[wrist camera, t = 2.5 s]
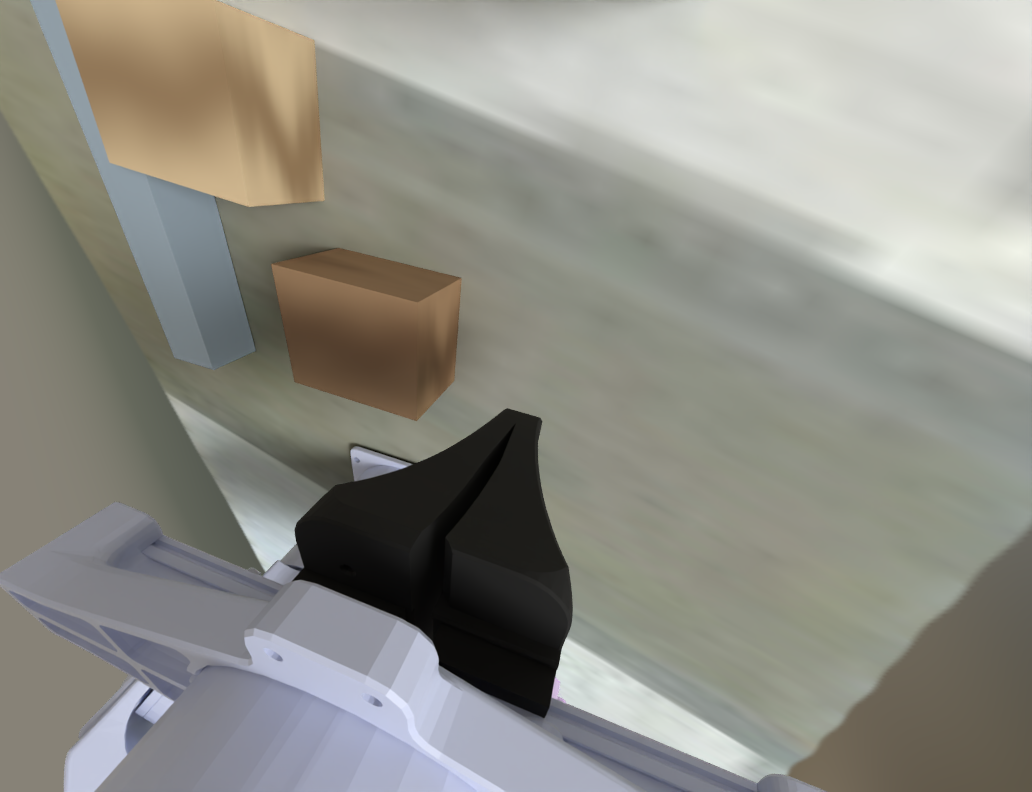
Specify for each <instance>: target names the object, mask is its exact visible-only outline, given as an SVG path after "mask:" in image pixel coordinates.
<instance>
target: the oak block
mask: <svg viewBox="0 0 1032 792" xmlns="http://www.w3.org/2000/svg"><path fill="white" fill-rule="evenodd" d="M55 1H56V4H57V7H58V10H59V13H60V16H61V19H62V22H63V25H64V28H65V31H66V34H67V37H68V40H69V43H70V46H71V49H72V52H73V55H74V58H75V61H76V64H77V67H78V70H79V73H80V76H81V79H82V82H83V85H84V88H85V91H86V94H87V97H88V100H89V103H90V106H91V109H92V112H93V115H94V118H95V121H96V124H97V127H98V130H99V133H100V136H101V139H102V142H103V145H104V148H105V151H106V154H107V157H108V160H109V163H112V164H115V165H118V166H121V167H125V168H128V169H131V170H134V171H137V172H140V173H144V174H147V175H150V176H153V177H156V178H159V179H162V180H166V181H169V182H172V183H175V184H178V185H181V186H185V187H188V188H191V189H194V190H197V191H200V192H203V193H207V194H210V195H213V196H216V197H219V198H222V199H226V200H229V201H232V202H235V203H238V204H241V205H244V206H248V207H253V206H265V205H278V204H290V203H302V202H315V201H324V185H323V170H322V154H321V138H320V123H319V107H318V91H317V75H316V60H315V44H314V40H312V39H310V38H307V37H305V36H302V35H300V34H297V33H295V32H293V31H290V30H288V29H285V28H283V27H280V26H278V25H275V24H273V23H270V22H268V21H266V20H263V19H261V18H258V17H256V16H253V15H251V14H248V13H246V12H243V11H241V10H239V9H236V8H234V7H231V6H229V5H226V4H224V3H221V2H219V1H216V0H55Z"/></svg>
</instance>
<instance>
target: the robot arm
mask: <svg viewBox="0 0 1032 792" xmlns="http://www.w3.org/2000/svg"><path fill="white" fill-rule="evenodd" d="M541 425H542V420H541V419H540V418H539V417H536V416H532V415H529V414H525V413H522V412H518V411H515V410H511V409H508V408H507V409H505V410H503V411H502V412H501V413H500V414H498V415H497V416H496V417H495V418H493V419H492V420H491V421H489V422H488V423H487V424H485V425H484V426H482V427H481V428H480V429H478V430H477V431H475V432H474V433H472V434H471V435H469V436H468V437H466V438H465V439H463V440H461V441H460V442H458V443H456V444H455V445H453V446H451V447H449V448H448V449H446V450H444V451H442V452H440V453H438V454H436V455H434V456H432V457H430V458H428V459H425V460H423V461H420V462H418V463H415V464H410V463H407V462H404V461H401V460H398V459H395V458H392V457H389V456H386V455H383V454H380V453H377V452H374V451H371V450H368V449H364V448H361V447H358V446H355V447H353V448H352V449H351V451H350V454H351V461H352V468H353V475H354V482H350V483H345V484H340V485H335V486H334V487H333V488H332V489H331V490H330V491H329V492H327V493H326V494H325V495H324V496H323V497H322V498H321V499H320V500H319V501H318V502H317V503H316V504H315V505H314V506H313V507H312V508H311V509H310V510H309V511H308V512H307V513H306V514H305V515H304V516H303V517H302V518H301V519H300V520H299V521H298V522H297V524H296V527H295V537H296V542H297V544H296V545H295V546H294V547H293V548H292V549H291V550H290V551H289V552H288V553H287V554H286V555H285V556H284V557H283V558H282V560H281V561H279V560H278V561H276V562H275V563H274V564H273V565H272V566H271V567H270V568H269V569H268V570H267V572H266V573H265V574H264V575H263V576H260V574H261V573H260V572H259V571H257V570H256V569H255V568H250V569H248V570H246V569H243V568H241V567H239V566H236V565H234V564H231V563H229V562H227V561H224V560H222V559H219V558H217V557H215V556H212V555H210V554H208V553H205V552H203V551H200V550H198V549H196V548H193V547H191V546H188V545H186V544H183V543H181V542H179V541H177V540H174V539H172V538H169V537H167V536H165V535H163V532H162V529H161V527H160V526H159V524H158V523H157V522H156V520H155V519H154V518H153V517H151V516H150V515H148V514H147V513H145V512H142V511H140V510H138V509H135V508H133V507H130V506H128V505H125V504H123V503H120V502H114V503H112V504H111V505H109V506H107V507H106V508H104V509H103V510H101V511H99V512H98V513H96V514H94V515H93V516H91V517H90V518H88V519H86V520H85V521H83V522H82V523H80V524H78V525H77V526H75V527H73V528H72V529H70V530H69V531H67V532H65V533H64V534H63V535H61V536H59V537H57V538H56V539H54V540H53V541H51V542H49V543H48V544H46V545H44V546H43V547H41V548H40V549H38V550H36V551H35V552H33V553H31V554H30V555H28V556H27V557H25V558H23V559H22V560H20V561H19V562H17V563H15V564H14V565H12V566H11V567H9V568H7V569H6V570H4V571H2V572H1V573H0V587H1V588H3V589H4V590H5V591H6V592H7V593H8V594H9V595H10V596H11V597H13V598H14V599H15V600H16V601H17V602H18V603H19V604H20V605H21V606H23V607H24V608H25V609H26V610H27V611H28V612H29V613H30V614H32V615H33V616H34V617H35V618H36V619H37V620H38V621H39V622H40V623H41V624H42V625H44V626H45V627H46V628H47V629H48V630H49V631H50V632H52V633H54V634H56V635H58V636H59V637H62V638H63V639H65V640H67V641H69V642H71V643H73V644H75V645H77V646H78V647H80V648H82V649H84V650H86V651H88V652H89V653H91V654H93V655H95V656H97V657H98V658H100V659H102V660H104V661H106V662H107V663H109V664H111V665H112V666H114V667H116V668H118V669H119V670H121V671H123V672H125V673H126V674H128V676H127V678H126V679H125V680H124V682H123V683H122V687H121V688H120V689H119V690H118V691H117V692H116V693H115V694H114V695H113V696H112V697H111V698H110V699H109V700H108V701H107V702H106V703H105V704H104V706H102V707H101V709H100V710H99V711H98V712H97V713H96V714H95V715H94V716H93V717H92V718H91V719H90V720H89V721H88V722H87V723H86V724H85V725H84V726H83V727H82V729H81V730H80V732H79V739H80V740H78V741H77V742H76V744H75V745H74V746H73V747H72V748H71V749H70V750H69V751H68V753H67V756H66V760H65V768H64V792H827V791H824V790H822V789H819V788H817V787H814V786H812V785H809V784H807V783H805V782H802V781H800V780H797V779H795V778H792V777H789V776H786V775H781V774H770V775H767V776H765V777H763V778H762V779H761V780H760V781H759V782H758V783H755V782H753V781H751V780H748V779H746V778H743V777H741V776H739V775H736V774H734V773H731V772H729V771H727V770H724V769H722V768H720V767H717V766H715V765H712V764H710V763H708V762H705V761H703V760H700V759H698V758H696V757H693V756H691V755H688V754H686V753H684V752H681V751H679V750H676V749H674V748H672V747H669V746H667V745H664V744H662V743H660V742H657V741H655V740H653V739H650V738H648V737H645V736H643V735H641V734H638V733H636V732H633V731H631V730H629V729H626V728H624V727H621V726H619V725H617V724H614V723H612V722H609V721H607V720H605V719H602V718H600V717H598V716H595V715H593V714H590V713H588V712H586V711H583V710H581V709H578V708H576V707H574V706H571V705H569V704H566V703H564V702H562V701H559V700H557V699H554V698H552V692H553V686H554V681H555V675H556V670H557V668H558V665H559V660H560V655H561V649H562V646H563V644H564V642H565V639H566V637H567V635H568V632H569V630H570V627H571V623H572V611H573V605H572V591H571V582H570V575H569V568H568V565H567V563H566V561H565V559H564V557H563V555H562V552H561V550H560V548H559V545H558V543H557V540H556V537H555V535H554V532H553V529H552V526H551V523H550V520H549V517H548V513H547V510H546V506H545V502H544V498H543V493H542V488H541V482H540V475H539V466H538V439H539V435H540V430H541Z"/></svg>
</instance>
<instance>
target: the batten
mask: <svg viewBox="0 0 1032 792" xmlns="http://www.w3.org/2000/svg"><path fill="white" fill-rule="evenodd" d="M30 1H31V4H32V6H33V9H34V11H35V14H36V16H37V18H38V21H39V23H40V26H41V28H42V31H43V33H44V36H45V38H46V41H47V43H48V46H49V48H50V51H51V53H52V56H53V58H54V61H55V63H56V65H57V68H58V70H59V73H60V75H61V78H62V80H63V83H64V85H65V88H66V90H67V93H68V95H69V98H70V100H71V103H72V105H73V108H74V110H75V113H76V115H77V117H78V120H79V122H80V125H81V127H82V130H83V132H84V135H85V137H86V140H87V142H88V145H89V147H90V150H91V152H92V155H93V157H94V160H95V162H96V164H97V167H98V169H99V172H100V174H101V177H102V179H103V182H104V184H105V187H106V189H107V192H108V194H109V197H110V199H111V202H112V204H113V207H114V209H115V212H116V214H117V216H118V219H119V221H120V224H121V226H122V229H123V231H124V234H125V236H126V239H127V241H128V244H129V246H130V249H131V251H132V254H133V256H134V259H135V261H136V264H137V266H138V268H139V271H140V273H141V276H142V278H143V281H144V283H145V286H146V288H147V291H148V293H149V296H150V298H151V301H152V303H153V306H154V308H155V311H156V313H157V315H158V318H159V320H160V323H161V325H162V328H163V330H164V333H165V335H166V338H167V340H168V343H169V345H170V348H171V350H172V353H173V355H174V358H177V359H180V360H183V361H186V362H189V363H193V364H196V365H199V366H202V367H206V368H209V369H212V370H215V369H217V368H219V367H221V366H224V365H226V364H228V363H230V362H232V361H235V360H237V359H239V358H241V357H243V356H246V355H248V354H250V353H252V352H254V351H256V350H255V346H254V342H253V338H252V335H251V331H250V327H249V324H248V320H247V316H246V312H245V309H244V305H243V301H242V298H241V294H240V290H239V286H238V283H237V279H236V275H235V272H234V268H233V264H232V260H231V257H230V253H229V249H228V246H227V242H226V238H225V234H224V231H223V227H222V223H221V220H220V216H219V212H218V208H217V205H216V201H215V197H214V196H213V195H210V194H207V193H203V192H200V191H197V190H194V189H191V188H188V187H185V186H181V185H178V184H175V183H172V182H169V181H166V180H162V179H159V178H156V177H153V176H150V175H147V174H144V173H140V172H137V171H134V170H131V169H128V168H125V167H121V166H118V165H115V164H112V163H109V160H108V157H107V154H106V151H105V148H104V145H103V142H102V139H101V136H100V133H99V130H98V127H97V124H96V121H95V118H94V115H93V112H92V109H91V106H90V103H89V100H88V97H87V94H86V91H85V88H84V85H83V82H82V79H81V76H80V73H79V70H78V67H77V64H76V61H75V58H74V55H73V52H72V49H71V46H70V43H69V40H68V37H67V34H66V31H65V28H64V25H63V22H62V19H61V16H60V13H59V10H58V7H57V4H56V1H55V0H30Z"/></svg>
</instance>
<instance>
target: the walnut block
mask: <svg viewBox="0 0 1032 792" xmlns="http://www.w3.org/2000/svg"><path fill="white" fill-rule="evenodd" d="M271 266H272V271H273V276H274V281H275V286H276V291H277V296H278V301H279V306H280V311H281V316H282V321H283V326H284V331H285V336H286V341H287V346H288V351H289V356H290V361H291V366H292V371H293V376H294V381H295V382H296V383H300V384H303V385H306V386H309V387H312V388H315V389H318V390H321V391H325V392H328V393H331V394H334V395H337V396H340V397H343V398H346V399H350V400H353V401H356V402H359V403H362V404H365V405H368V406H371V407H375V408H378V409H381V410H384V411H387V412H390V413H393V414H396V415H400V416H403V417H406V418H409V419H412V420H415V421H417V420H418V419H419V418H420V417H421V416H422V415H423V414H424V413H425V412H426V411H427V409H428V408H429V407H430V406H431V405H432V404H433V403H434V402H435V401H436V400H437V399H438V398H439V397H440V395H441V394H442V393H443V392H444V391H445V390H446V389H447V388H448V387H449V386H450V385H451V384H452V383H453V381H454V376H455V362H456V348H457V334H458V320H459V306H460V292H461V278H459V277H455V276H451V275H447V274H443V273H439V272H435V271H431V270H427V269H423V268H418V267H414V266H410V265H406V264H402V263H398V262H394V261H390V260H386V259H382V258H378V257H374V256H370V255H366V254H361V253H357V252H353V251H349V250H345V249H341V248H336V249H332V250H328V251H324V252H319V253H315V254H311V255H307V256H303V257H298V258H294V259H290V260H286V261H281V262H277V263H273V264H271Z"/></svg>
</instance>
